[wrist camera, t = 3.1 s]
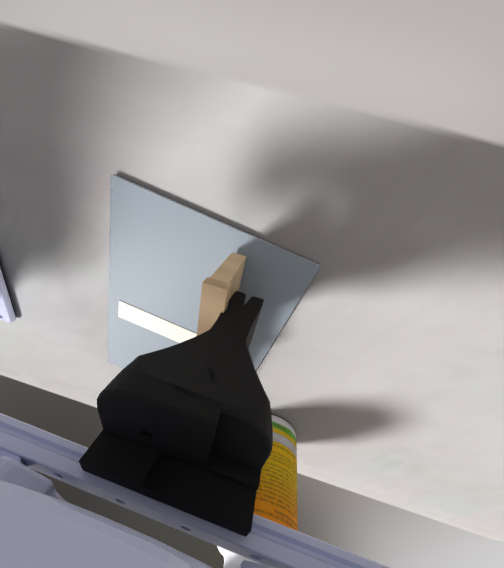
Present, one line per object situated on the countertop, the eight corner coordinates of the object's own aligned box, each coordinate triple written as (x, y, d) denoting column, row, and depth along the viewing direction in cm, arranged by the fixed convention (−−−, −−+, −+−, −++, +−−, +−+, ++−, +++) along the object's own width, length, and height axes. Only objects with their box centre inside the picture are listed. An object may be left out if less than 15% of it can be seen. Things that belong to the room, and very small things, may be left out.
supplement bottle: (247, 403, 18) (204, 611, 9) (305, 424, 17) (318, 656, 9) (234, 432, 20) (191, 615, 12) (284, 450, 20) (279, 650, 11)
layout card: (110, 359, 18) (107, 362, 18) (115, 174, 11) (109, 174, 10) (230, 409, 18) (229, 414, 18) (319, 264, 11) (320, 266, 10)
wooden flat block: (228, 345, 14) (208, 396, 11) (214, 341, 14) (190, 390, 11) (248, 256, 11) (227, 289, 7) (230, 251, 11) (202, 282, 7)
